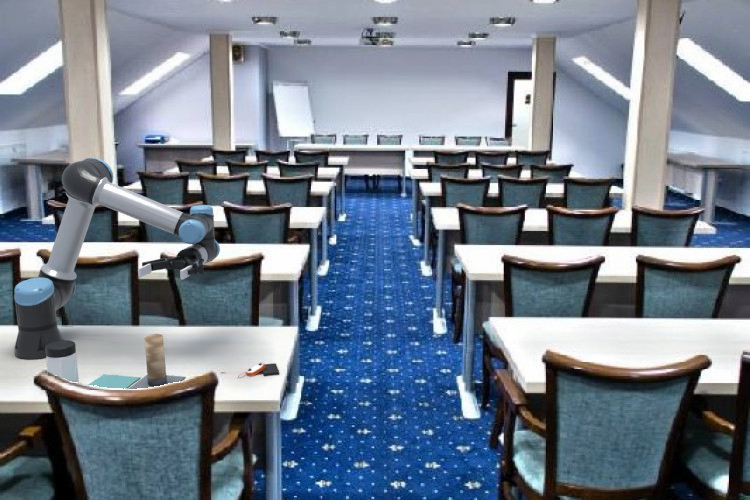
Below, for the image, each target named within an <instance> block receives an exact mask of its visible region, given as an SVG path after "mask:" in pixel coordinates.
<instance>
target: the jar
mask: <svg viewBox="0 0 750 500" xmlns="http://www.w3.org/2000/svg"><path fill="white" fill-rule="evenodd" d="M76 347H77V345H76V342H75V341H73V340H68V339H66V340H65V339H63V340H61V341H55V342H51V343H49V344H47V345H46V346H45V352H46V357H45V359H46V369H47V370H46V371H47V372H48V371H49V372H51V373H53V374H55V375H57V376H60V377H62V378H65V379H67V380H69V381H72V382H78V383H79V369H78V358H77V349H76Z"/></svg>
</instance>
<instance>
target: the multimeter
mask: <svg viewBox="0 0 750 500" xmlns="http://www.w3.org/2000/svg"><path fill="white" fill-rule="evenodd" d="M260 372H262V375H263V377H269V376H270V377H271V376H278V375H280V370H279V368H278V365H277V363H274V362H273V363H265V362H263V361H262V362H259V363H257V364H256V365H253V367H251V368H248V369H246V370H245V371H244V372H242V373H240V374H239V375H238V377H237V378H239V379H241V378H243V377H245V375H246V376H248V377H254V376H256V375H257V374H259V373H260ZM221 374H225V371H223V372H221ZM243 374H244V375H243ZM241 375H243V376H241Z"/></svg>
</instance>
